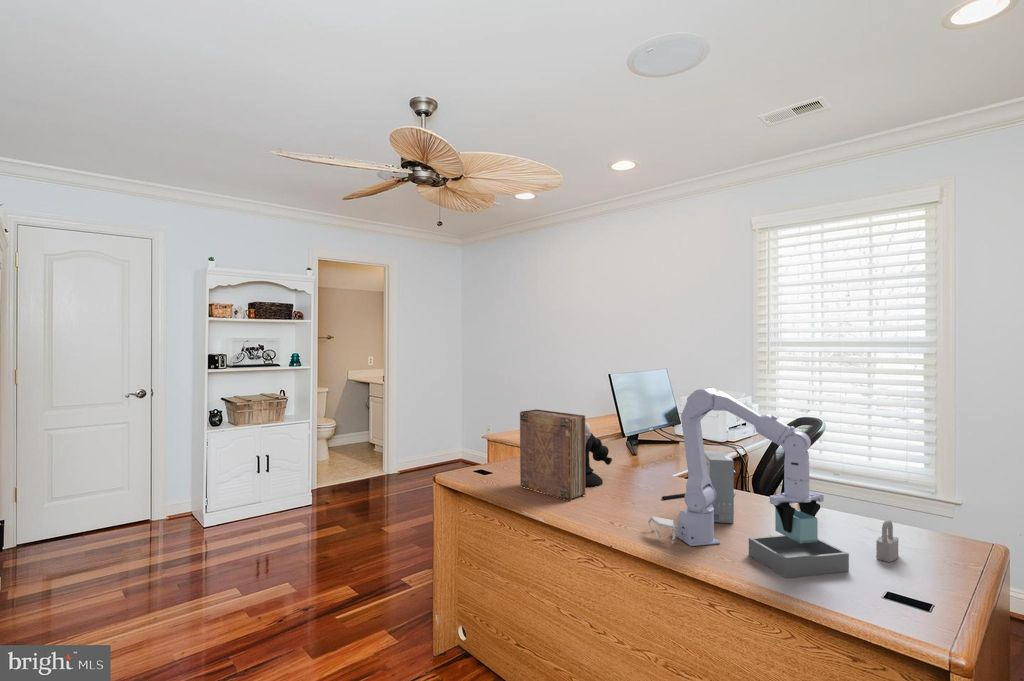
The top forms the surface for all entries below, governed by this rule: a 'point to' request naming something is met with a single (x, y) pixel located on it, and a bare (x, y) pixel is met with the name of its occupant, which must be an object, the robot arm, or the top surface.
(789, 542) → the grey crate
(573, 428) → the book
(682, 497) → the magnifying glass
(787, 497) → the robot arm
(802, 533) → the teal mini crate
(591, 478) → the sculpture
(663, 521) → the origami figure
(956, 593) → the top surface
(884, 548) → the padlock
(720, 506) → the hard drive box
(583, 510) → the top surface
